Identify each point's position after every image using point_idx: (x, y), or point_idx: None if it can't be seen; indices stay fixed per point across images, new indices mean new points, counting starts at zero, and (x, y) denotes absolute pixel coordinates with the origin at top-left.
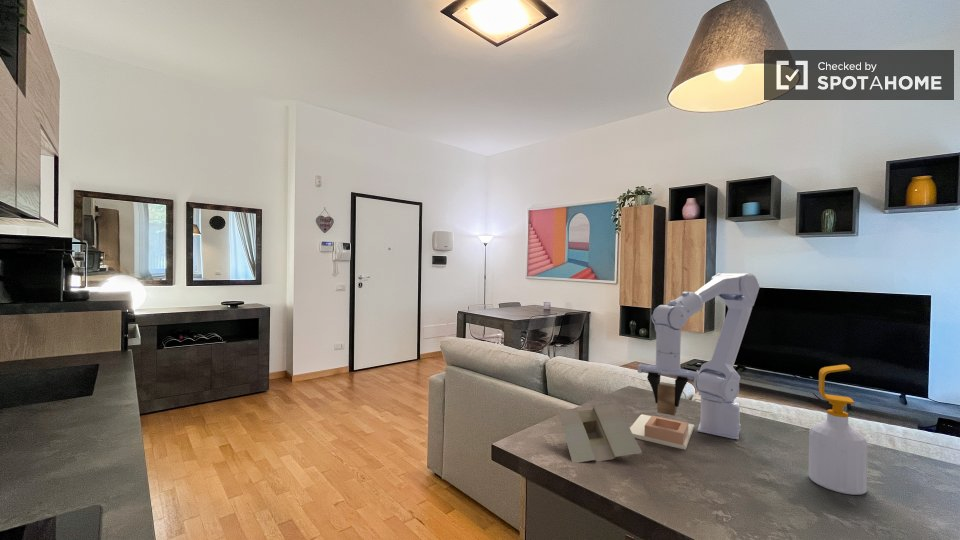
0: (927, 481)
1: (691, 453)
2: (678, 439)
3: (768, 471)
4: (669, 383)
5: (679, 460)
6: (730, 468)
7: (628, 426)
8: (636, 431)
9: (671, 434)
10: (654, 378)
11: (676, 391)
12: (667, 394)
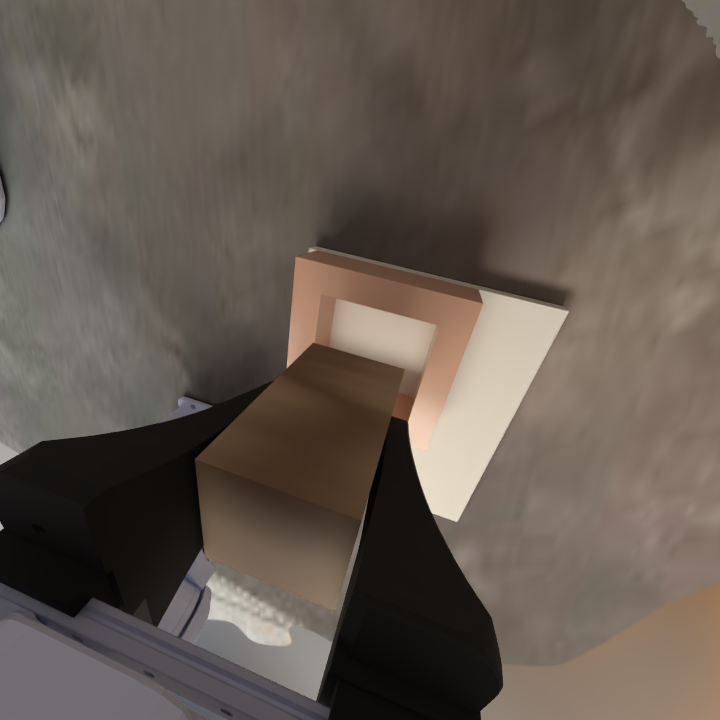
0: None
1: (295, 216)
2: (328, 256)
3: (82, 169)
4: (262, 578)
5: (340, 95)
6: (168, 123)
7: (696, 12)
8: (509, 339)
9: (353, 266)
10: (385, 607)
11: (205, 432)
12: (299, 429)
